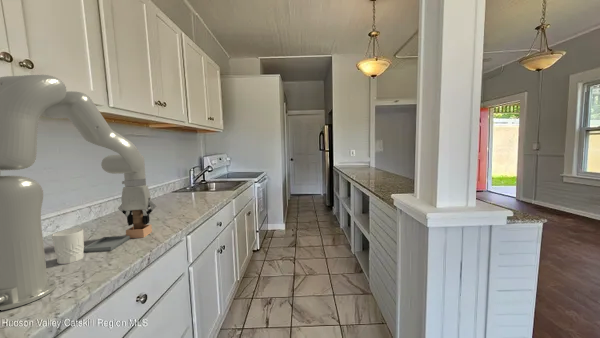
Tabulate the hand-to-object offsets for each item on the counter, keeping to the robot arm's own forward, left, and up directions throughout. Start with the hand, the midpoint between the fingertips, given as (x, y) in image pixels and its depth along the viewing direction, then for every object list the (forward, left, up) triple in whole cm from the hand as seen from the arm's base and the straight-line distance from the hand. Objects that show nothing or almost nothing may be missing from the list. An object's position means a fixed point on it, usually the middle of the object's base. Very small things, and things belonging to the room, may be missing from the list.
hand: (138, 223), depth 108 cm
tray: (-10, +7, -6) cm, 14 cm away
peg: (0, 0, -5) cm, 5 cm away
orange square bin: (0, 0, -6) cm, 6 cm away
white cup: (-21, +12, -6) cm, 25 cm away
